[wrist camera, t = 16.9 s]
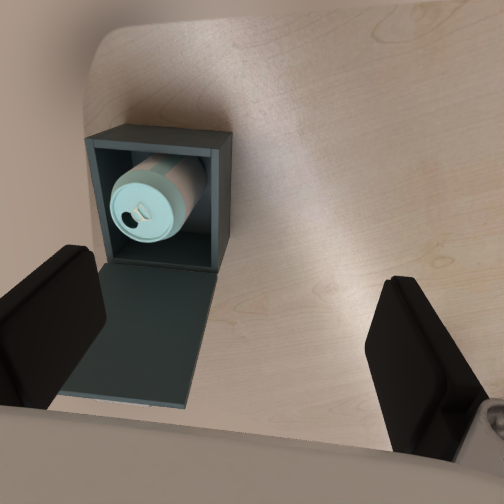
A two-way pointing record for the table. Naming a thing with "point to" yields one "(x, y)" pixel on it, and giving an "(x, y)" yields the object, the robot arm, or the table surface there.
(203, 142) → the chest
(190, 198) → the can
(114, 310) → the lid
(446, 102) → the table surface
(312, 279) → the table surface
